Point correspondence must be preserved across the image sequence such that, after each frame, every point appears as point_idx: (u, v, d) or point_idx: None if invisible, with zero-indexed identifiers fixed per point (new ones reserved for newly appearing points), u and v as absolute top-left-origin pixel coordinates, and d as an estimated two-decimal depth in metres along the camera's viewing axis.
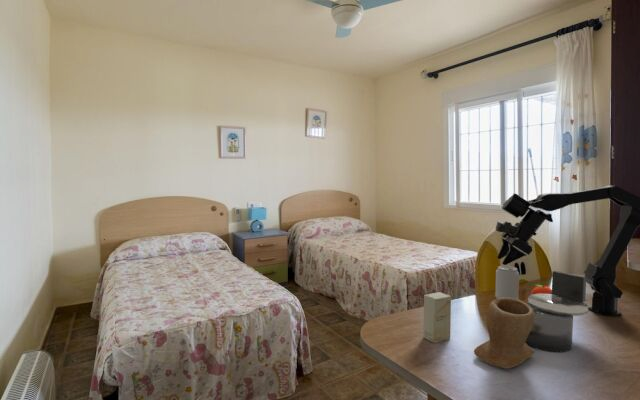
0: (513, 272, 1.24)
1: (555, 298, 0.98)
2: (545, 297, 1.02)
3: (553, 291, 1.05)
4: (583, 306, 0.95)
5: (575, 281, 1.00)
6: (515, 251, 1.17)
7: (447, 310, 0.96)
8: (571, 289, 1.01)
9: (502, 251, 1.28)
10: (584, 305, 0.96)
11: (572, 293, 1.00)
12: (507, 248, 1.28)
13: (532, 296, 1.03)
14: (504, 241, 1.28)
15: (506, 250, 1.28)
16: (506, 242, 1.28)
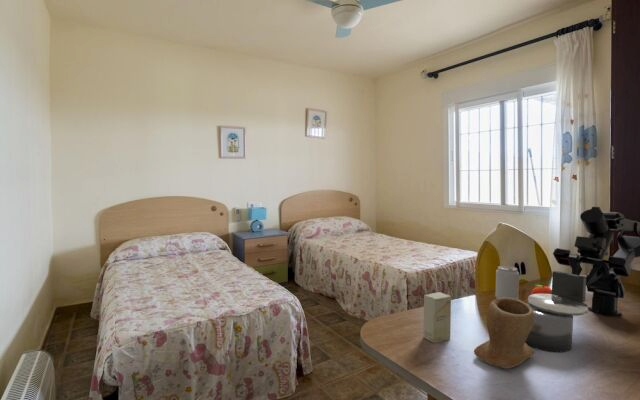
0: (513, 272, 1.24)
1: (555, 298, 0.98)
2: (545, 297, 1.02)
3: (553, 291, 1.05)
4: (583, 306, 0.95)
5: (575, 281, 1.00)
6: (597, 270, 1.05)
7: (447, 310, 0.96)
8: (571, 289, 1.01)
9: (575, 273, 1.08)
10: (584, 305, 0.96)
11: (572, 293, 1.00)
12: (578, 270, 1.09)
13: (532, 296, 1.03)
14: (577, 261, 1.09)
15: (578, 272, 1.09)
16: (578, 262, 1.09)
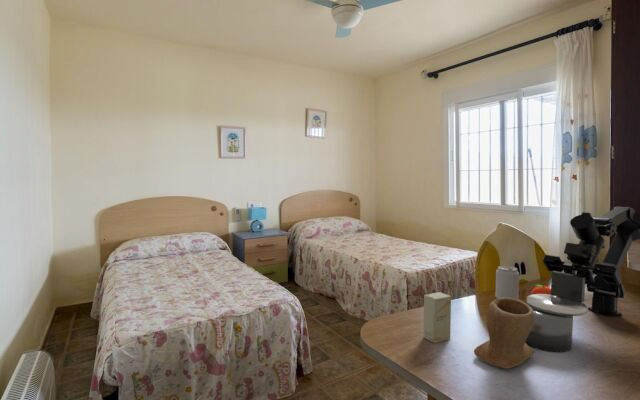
0: (513, 272, 1.24)
1: (554, 298, 0.98)
2: (544, 298, 1.02)
3: (552, 291, 1.04)
4: (582, 306, 0.95)
5: (574, 282, 0.99)
6: None
7: (447, 310, 0.96)
8: (570, 289, 1.00)
9: None
10: (583, 305, 0.95)
11: (571, 293, 1.00)
12: None
13: (530, 297, 1.03)
14: (572, 270, 1.04)
15: None
16: (573, 271, 1.04)
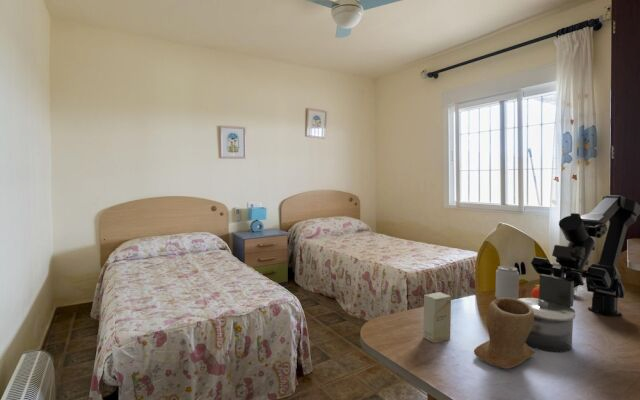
0: (513, 272, 1.24)
1: (541, 303, 0.94)
2: (532, 302, 0.98)
3: (540, 295, 1.01)
4: (571, 311, 0.91)
5: (562, 285, 0.96)
6: None
7: (447, 310, 0.96)
8: (558, 293, 0.97)
9: None
10: (571, 310, 0.92)
11: (559, 298, 0.97)
12: None
13: None
14: (561, 273, 1.01)
15: None
16: (562, 274, 1.01)
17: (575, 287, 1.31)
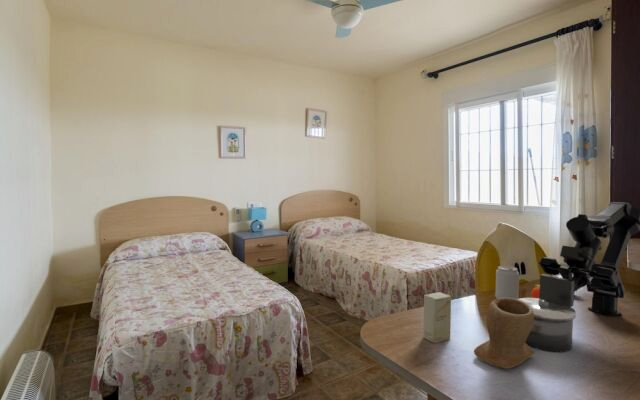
0: (513, 272, 1.24)
1: (542, 303, 0.94)
2: (532, 302, 0.98)
3: (541, 295, 1.01)
4: (571, 311, 0.91)
5: (563, 285, 0.96)
6: (578, 279, 1.02)
7: (447, 310, 0.96)
8: (559, 293, 0.97)
9: None
10: (572, 310, 0.92)
11: (560, 297, 0.97)
12: None
13: None
14: (569, 272, 1.03)
15: None
16: (570, 274, 1.03)
17: None
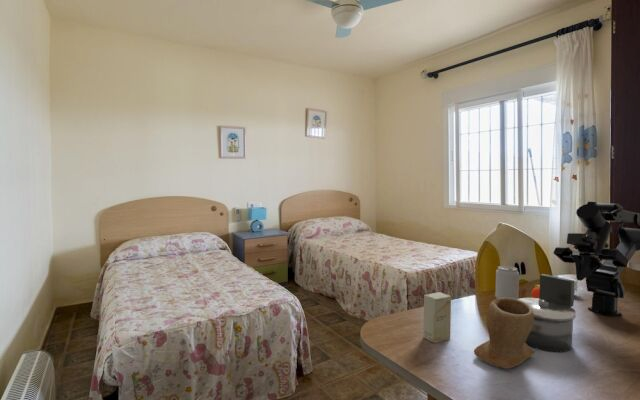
0: (513, 272, 1.24)
1: (542, 303, 0.94)
2: (532, 302, 0.98)
3: (541, 295, 1.01)
4: (571, 311, 0.91)
5: (563, 285, 0.96)
6: (590, 263, 1.07)
7: (447, 310, 0.96)
8: (559, 293, 0.97)
9: (579, 270, 1.07)
10: (572, 310, 0.92)
11: (560, 297, 0.97)
12: None
13: None
14: (580, 258, 1.08)
15: None
16: (581, 259, 1.08)
17: (575, 287, 1.31)
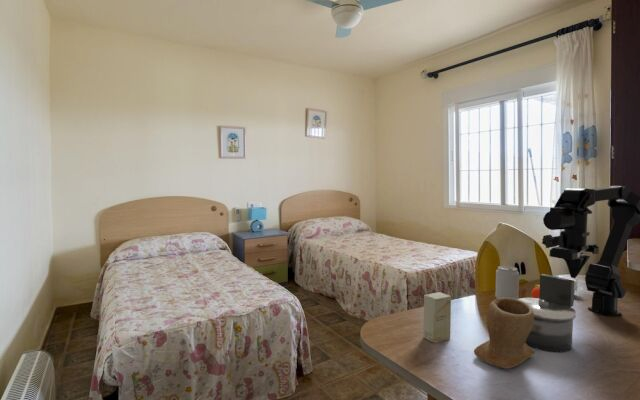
0: (513, 272, 1.24)
1: (542, 303, 0.94)
2: (532, 302, 0.98)
3: (541, 295, 1.01)
4: (571, 311, 0.91)
5: (563, 285, 0.96)
6: (572, 259, 1.09)
7: (447, 310, 0.96)
8: (559, 293, 0.97)
9: None
10: (572, 310, 0.92)
11: (560, 297, 0.97)
12: None
13: None
14: None
15: None
16: None
17: (575, 287, 1.31)
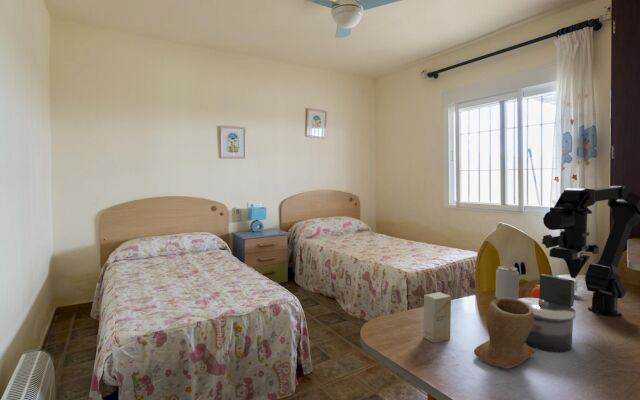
0: (513, 272, 1.24)
1: (542, 303, 0.94)
2: (532, 302, 0.98)
3: (541, 295, 1.01)
4: (571, 311, 0.91)
5: (563, 285, 0.96)
6: (572, 259, 1.09)
7: (447, 310, 0.96)
8: (559, 293, 0.97)
9: None
10: (572, 310, 0.92)
11: (560, 297, 0.97)
12: None
13: None
14: None
15: None
16: None
17: (575, 287, 1.31)
